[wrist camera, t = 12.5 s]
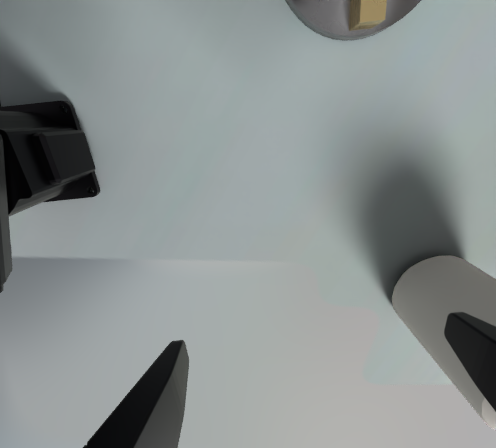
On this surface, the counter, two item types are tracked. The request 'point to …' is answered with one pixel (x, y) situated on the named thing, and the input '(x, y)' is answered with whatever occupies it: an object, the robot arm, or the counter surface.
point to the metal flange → (350, 16)
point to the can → (437, 309)
